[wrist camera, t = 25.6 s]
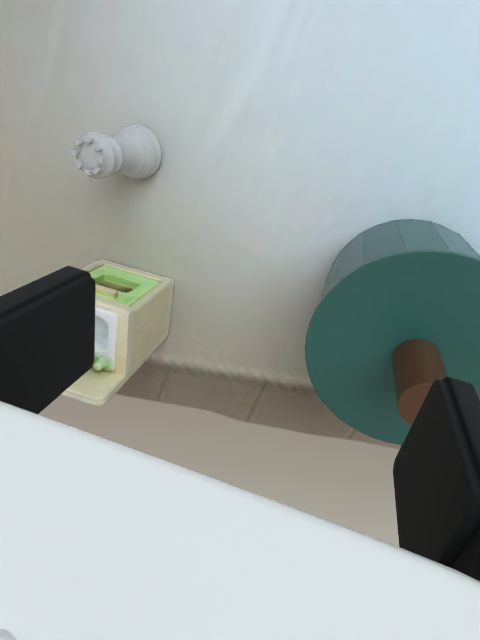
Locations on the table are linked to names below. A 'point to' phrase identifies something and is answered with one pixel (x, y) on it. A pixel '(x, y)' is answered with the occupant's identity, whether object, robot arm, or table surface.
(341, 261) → the tin
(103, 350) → the toy sink
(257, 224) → the table surface
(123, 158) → the rook chess piece
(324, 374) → the lid
